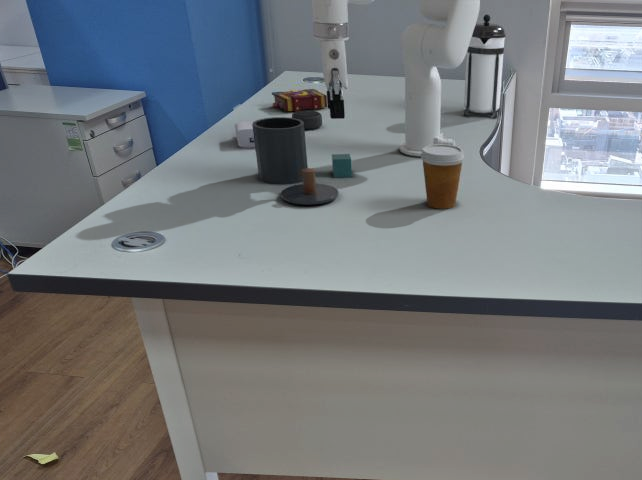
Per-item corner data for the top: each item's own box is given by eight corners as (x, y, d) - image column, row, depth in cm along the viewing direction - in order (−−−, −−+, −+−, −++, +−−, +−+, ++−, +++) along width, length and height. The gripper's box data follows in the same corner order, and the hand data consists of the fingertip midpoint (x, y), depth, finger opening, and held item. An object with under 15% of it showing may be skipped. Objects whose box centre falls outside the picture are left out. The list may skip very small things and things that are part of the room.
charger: (268, 132, 192) (273, 146, 180) (235, 134, 189) (238, 147, 177) (266, 115, 189) (271, 128, 177) (233, 117, 187) (236, 129, 175)
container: (307, 168, 164) (303, 116, 157) (309, 183, 154) (304, 128, 148) (259, 170, 162) (253, 117, 155) (258, 184, 152) (251, 129, 145)
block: (350, 171, 163) (349, 153, 161) (352, 176, 160) (351, 158, 157) (332, 172, 162) (331, 154, 160) (333, 177, 159) (332, 159, 156)
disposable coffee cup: (431, 214, 140) (432, 157, 134) (413, 200, 147) (413, 145, 140) (470, 208, 144) (473, 153, 137) (450, 194, 151) (452, 141, 144)
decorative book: (328, 108, 220) (327, 93, 217) (282, 113, 212) (281, 97, 210) (314, 102, 228) (313, 87, 225) (269, 106, 220) (268, 90, 217)
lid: (336, 187, 153) (335, 160, 149) (340, 206, 142) (339, 177, 139) (281, 189, 150) (278, 162, 147) (281, 208, 140) (278, 179, 136)
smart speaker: (325, 124, 202) (324, 110, 200) (318, 131, 195) (317, 117, 193) (297, 122, 203) (296, 109, 201) (289, 129, 196) (287, 115, 193)
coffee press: (514, 116, 221) (523, 16, 204) (476, 120, 213) (482, 17, 196) (484, 105, 232) (489, 10, 216) (447, 110, 225) (449, 11, 208)
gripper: (352, 36, 136) (355, 122, 145) (345, 27, 150) (349, 105, 159) (315, 36, 134) (321, 122, 144) (312, 26, 149) (317, 105, 158)
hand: (336, 113), depth 152 cm, fingers open, 9 cm apart
